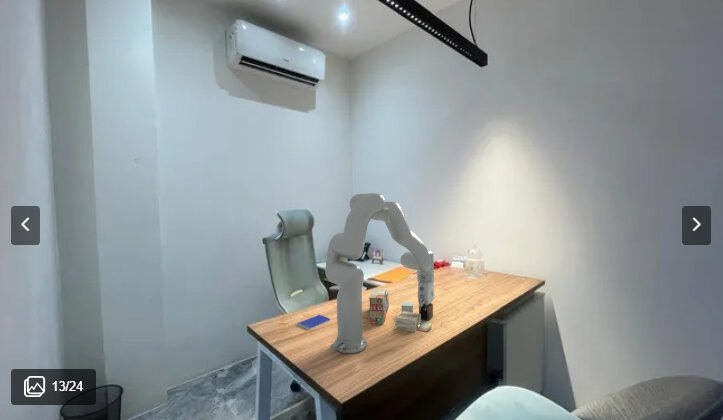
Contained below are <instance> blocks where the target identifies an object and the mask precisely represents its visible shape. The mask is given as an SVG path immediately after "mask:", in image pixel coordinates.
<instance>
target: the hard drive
mask: <svg viewBox="0 0 723 420" xmlns="http://www.w3.org/2000/svg"><path fill="white" fill-rule="evenodd" d="M330 321H331V318H329V317H327V316H324V315H321V314H318V315H315V316H312V317H309V318H307V319H305V320H302V321H299V322H298V323H297V326H299V327H301V328H304V329H306V330H307V331H310V330H313V329H314V328H315V329H316V328H318V327H319V326H323V325H324V324H326V323H329V322H330Z"/></svg>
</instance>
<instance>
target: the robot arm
mask: <svg viewBox="0 0 723 420" xmlns="http://www.w3.org/2000/svg"><path fill="white" fill-rule="evenodd" d="M349 208H350V211H349V213H348V215H347V217H346V219H345V225H344V229H343V232H339V233H336V234H334V235H333V236H332V237H331V239H330V241H329V244H328V248H327V254H326V261H325V267H324V268H325V269H324V272H325V277H326V279H327V280H328V281H329V282H331V283H332V284H334V285H337V286H338V288H339V289H338V293H337V296H336V317H337V318H336V320H337V321H336V322H337V323H336V325H337V336H336V339H335V340H334V341H333V344H332V345H330V350H332V351H337V352H339V353H342V354H356V353H359V352H362V351H364V350H365V349H366V347H367V346H368V341H367V339H366V338H365V337H364V336H363V333H364V332H363V299H362V298H363V286H364V280H365V278H364V277H365V275H364V271H363V270H362V268H361V267H360V266H359V265H357V264H355V263H352V262H349V261H348V260H352V261H353V260H359V259H360V258H361V257H362V256H363V254H364V250H365V244H366V237H367V231H368V230H367V229H368V226H369V222H370V221H371V220H374V221H378V222H379V221H380V222H381V221H382V222H384V223H385V226H386V227H387V230H388V233H389V234H390V235H391V236H390V237H391V238H392V240H393V241H394V242H396V243H397V244H398V245H400V246H401V247H404V248H405V249H407V250H408V251H406V252H404V253H402V255H401V257H400V264H401V265H402V266H403V267H404V268H405V269H408V270H414V271H416V279H417V282H418V285H417V286H418V287H417V303H418V308H419V307H420V314H421V318H423V319H422V320H425V319H427V305H429V304H430V303H431V304H433V303H432V302H433V301H434V300H435V298H436V297H435V286H434V285H435V284H434V281H435V275H434V273H435V271H434V270H435V269H434V265H435V264H434V261H435V259H434V253H433V251H431V250H428V249H427V246H426V245H425V243H424V242H422V240H421V239H420V238H419V237H418V236H417V234H415V233H414V232H413V231H412V230H411V229H410V226H409V224H408V222H407V220H406V217H405V215H404V212H403V210H402V208H401V206H400V204H398V203H397V202H395V201H385V197H384V196H383V195H381V194H380V193H375V192H369V193H358V194H357V193H356V194H354V195H353V196H351V198H350V200H349ZM423 302H425V303H423ZM423 305H425V307H424V306H423Z"/></svg>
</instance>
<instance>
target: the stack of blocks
mask: <svg viewBox="0 0 723 420" xmlns="http://www.w3.org/2000/svg"><path fill="white" fill-rule="evenodd" d="M389 298H390V297H389V289H387V288H373V289H372V292H371V293H370V296H369V297H368V299H369V301H368V302H369V324H370V325H385V321H386V318H387V314H388V311H389V303H390V301H389Z"/></svg>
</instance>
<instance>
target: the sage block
mask: <svg viewBox="0 0 723 420" xmlns="http://www.w3.org/2000/svg"><path fill="white" fill-rule="evenodd" d="M403 311H405V312H411V313H414V302H411V301H402V302H401V313H402V312H403Z"/></svg>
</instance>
